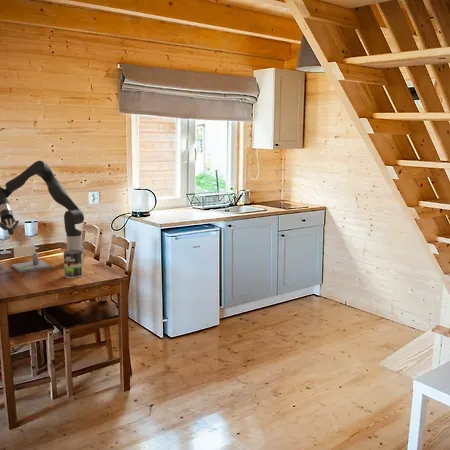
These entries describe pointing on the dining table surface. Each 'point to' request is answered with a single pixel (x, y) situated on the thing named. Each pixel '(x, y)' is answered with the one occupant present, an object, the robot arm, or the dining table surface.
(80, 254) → the coffee can
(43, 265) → the board
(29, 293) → the dining table surface
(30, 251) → the lever handle
